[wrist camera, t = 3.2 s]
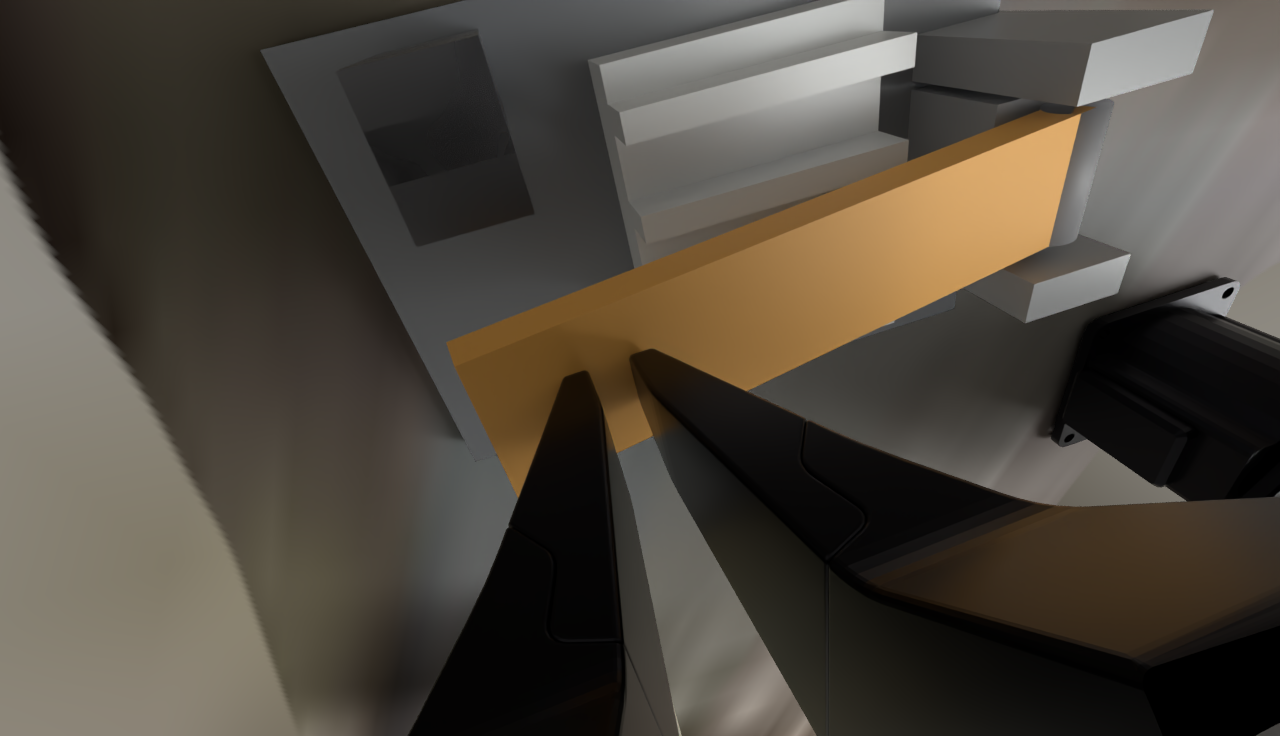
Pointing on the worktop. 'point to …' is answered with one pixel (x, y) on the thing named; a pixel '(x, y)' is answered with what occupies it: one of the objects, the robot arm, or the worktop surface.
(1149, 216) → the worktop surface
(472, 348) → the strap
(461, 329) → the clamp base
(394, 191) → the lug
